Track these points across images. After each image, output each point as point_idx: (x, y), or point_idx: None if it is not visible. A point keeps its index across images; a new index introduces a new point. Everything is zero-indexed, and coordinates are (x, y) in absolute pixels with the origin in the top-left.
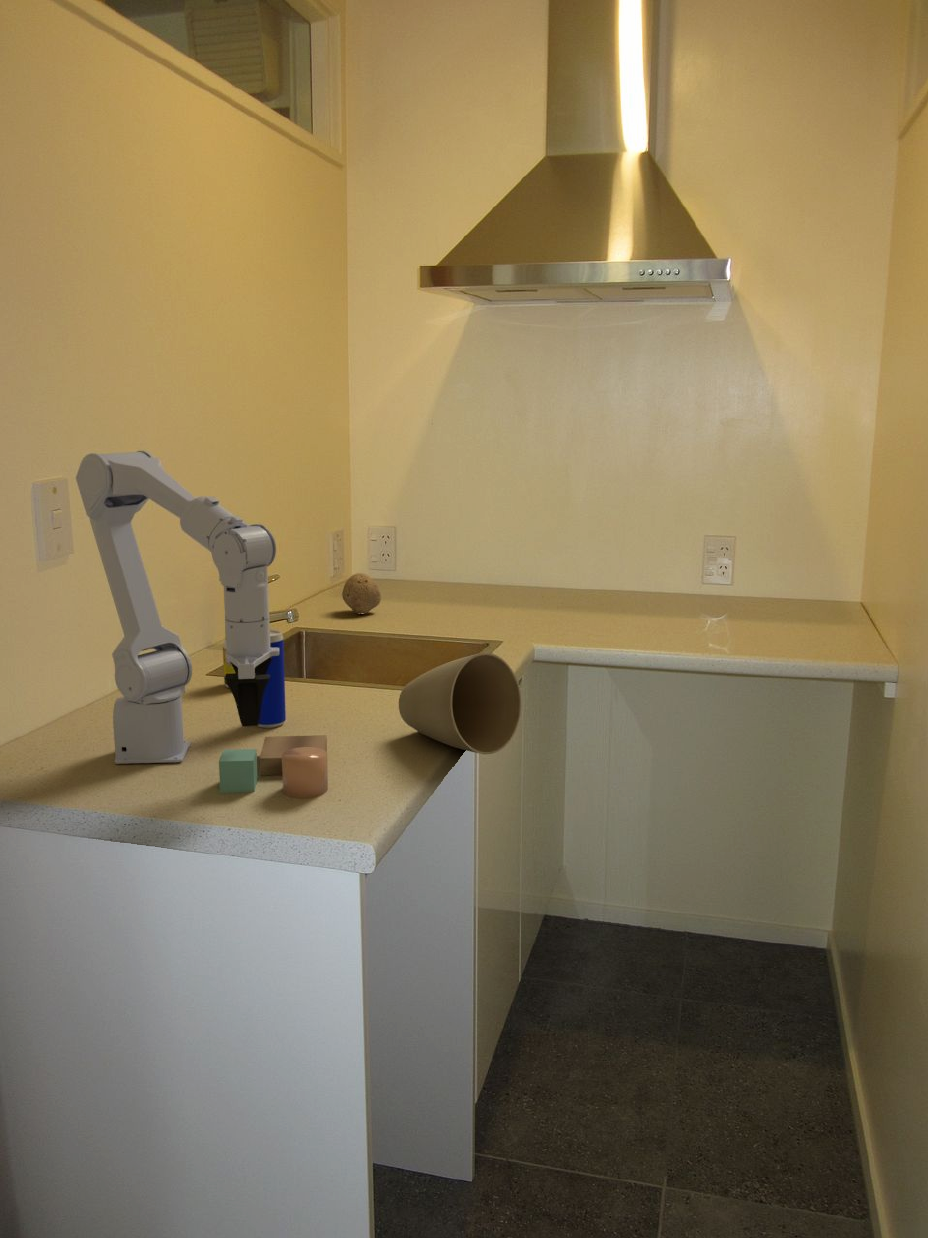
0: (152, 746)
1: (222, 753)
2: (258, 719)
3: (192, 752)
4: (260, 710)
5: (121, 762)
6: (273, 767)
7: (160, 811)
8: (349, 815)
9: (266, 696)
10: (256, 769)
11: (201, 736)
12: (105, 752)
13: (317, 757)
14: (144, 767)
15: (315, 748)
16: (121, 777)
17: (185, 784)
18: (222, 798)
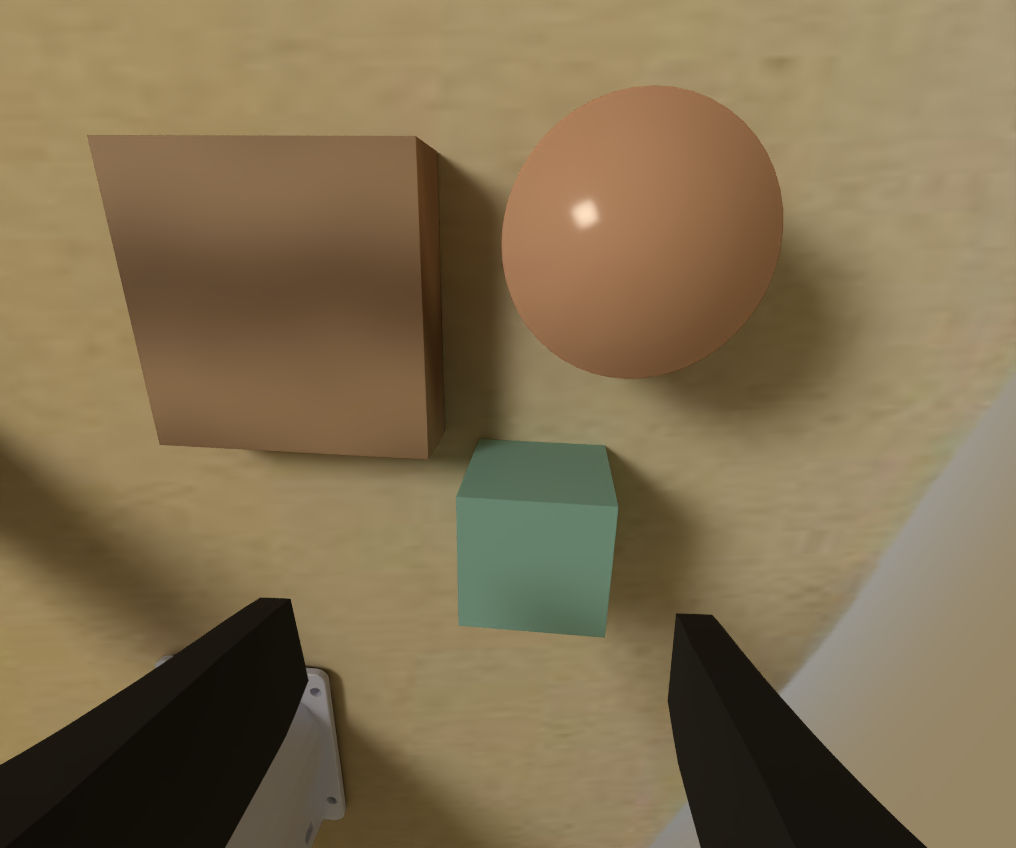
0: (306, 785)
1: (506, 627)
2: (736, 648)
3: None
4: (785, 705)
5: (343, 803)
6: (435, 390)
7: None
8: (992, 3)
9: None
10: (499, 460)
11: (83, 625)
12: None
13: (707, 156)
14: (362, 748)
15: (533, 176)
16: (437, 790)
17: (506, 649)
18: (648, 544)
